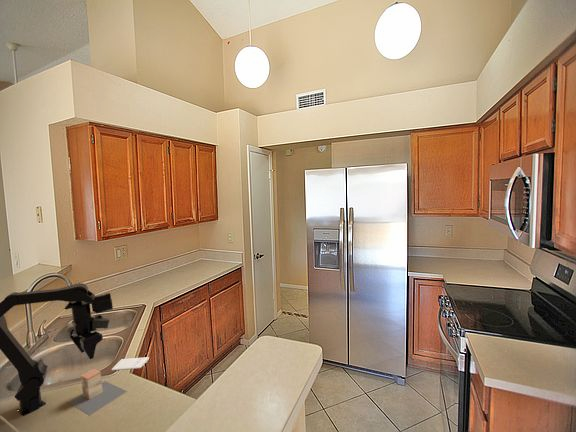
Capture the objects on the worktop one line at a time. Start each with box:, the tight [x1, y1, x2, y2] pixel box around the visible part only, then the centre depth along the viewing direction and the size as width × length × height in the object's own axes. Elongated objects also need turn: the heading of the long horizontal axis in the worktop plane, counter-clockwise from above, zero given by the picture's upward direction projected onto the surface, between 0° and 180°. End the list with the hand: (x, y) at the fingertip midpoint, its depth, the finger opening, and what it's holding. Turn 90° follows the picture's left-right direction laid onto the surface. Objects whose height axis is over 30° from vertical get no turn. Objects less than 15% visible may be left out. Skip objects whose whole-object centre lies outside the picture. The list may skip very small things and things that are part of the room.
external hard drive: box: [110, 356, 150, 371], centre depth 125 cm, size 2×8×12 cm
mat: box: [67, 380, 128, 416], centre depth 104 cm, size 15×13×1 cm
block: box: [80, 368, 103, 400], centre depth 106 cm, size 4×4×8 cm
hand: (87, 355), depth 110 cm, fingers open, 9 cm apart
